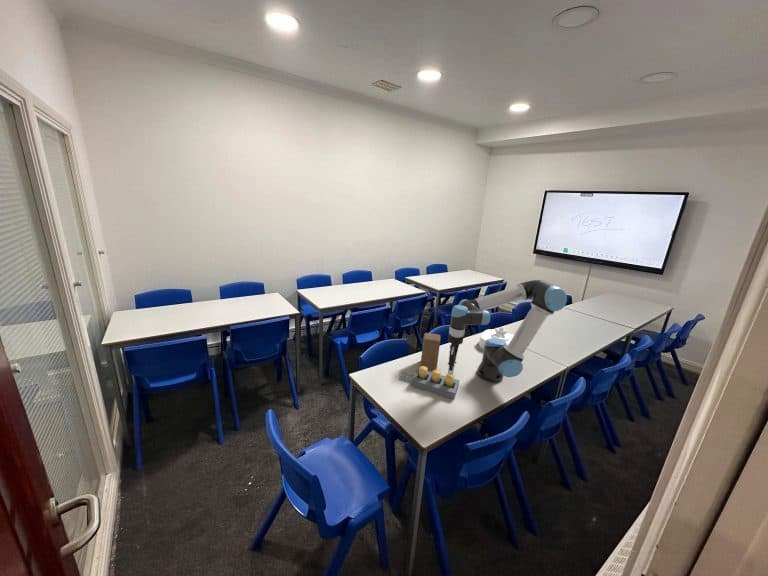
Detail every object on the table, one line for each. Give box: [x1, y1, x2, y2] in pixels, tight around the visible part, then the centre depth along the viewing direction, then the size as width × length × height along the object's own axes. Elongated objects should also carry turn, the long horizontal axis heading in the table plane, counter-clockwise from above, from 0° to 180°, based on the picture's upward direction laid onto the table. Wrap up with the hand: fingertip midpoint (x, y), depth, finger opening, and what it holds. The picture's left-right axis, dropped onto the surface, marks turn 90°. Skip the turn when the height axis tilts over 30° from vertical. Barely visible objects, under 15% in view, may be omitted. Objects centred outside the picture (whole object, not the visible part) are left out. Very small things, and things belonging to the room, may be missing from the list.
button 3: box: [418, 366, 429, 378], centre depth 167 cm, size 5×5×5 cm
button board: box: [410, 368, 460, 400], centre depth 166 cm, size 24×13×4 cm, turn 66°
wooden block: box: [419, 332, 441, 371], centre depth 184 cm, size 10×10×20 cm
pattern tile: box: [399, 372, 415, 384], centre depth 173 cm, size 7×7×1 cm
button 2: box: [431, 369, 442, 382], centre depth 165 cm, size 5×5×5 cm
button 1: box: [445, 373, 456, 386], centre depth 162 cm, size 5×5×5 cm
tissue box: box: [478, 326, 515, 350], centre depth 215 cm, size 25×25×16 cm
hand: (450, 374), depth 161 cm, fingers closed
